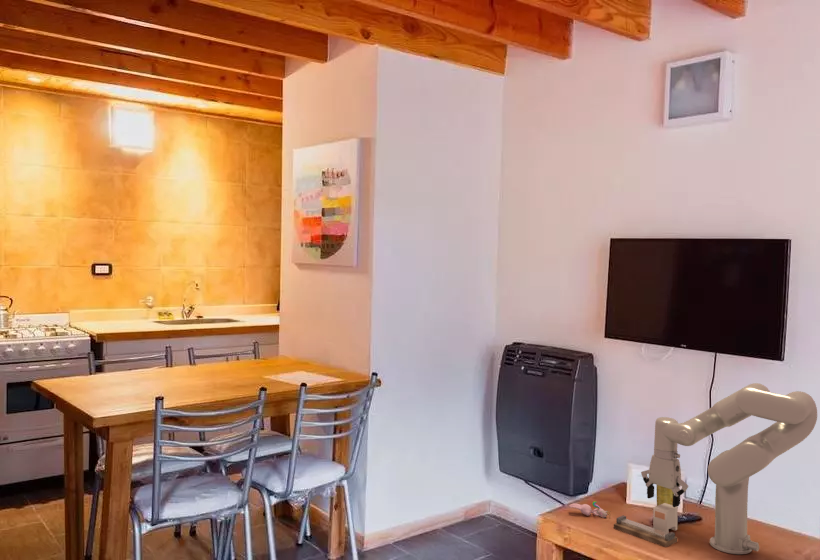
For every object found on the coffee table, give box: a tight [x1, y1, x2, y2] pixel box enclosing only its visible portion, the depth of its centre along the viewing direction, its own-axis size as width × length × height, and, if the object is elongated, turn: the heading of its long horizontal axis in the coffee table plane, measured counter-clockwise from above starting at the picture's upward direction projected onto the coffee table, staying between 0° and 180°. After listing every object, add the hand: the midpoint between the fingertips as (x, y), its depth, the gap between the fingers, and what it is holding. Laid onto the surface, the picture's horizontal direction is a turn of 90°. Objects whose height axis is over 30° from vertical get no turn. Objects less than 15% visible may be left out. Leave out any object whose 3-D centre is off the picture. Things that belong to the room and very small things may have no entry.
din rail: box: [615, 515, 676, 541], centre depth 232 cm, size 20×4×2 cm, turn 38°
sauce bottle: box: [656, 485, 674, 506], centre depth 252 cm, size 6×6×20 cm
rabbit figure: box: [568, 500, 612, 519], centre depth 249 cm, size 6×6×15 cm
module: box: [652, 503, 679, 533], centre depth 236 cm, size 5×7×8 cm
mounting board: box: [613, 522, 678, 548], centre depth 232 cm, size 20×7×2 cm, turn 38°
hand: (663, 501), depth 236 cm, fingers open, 9 cm apart
